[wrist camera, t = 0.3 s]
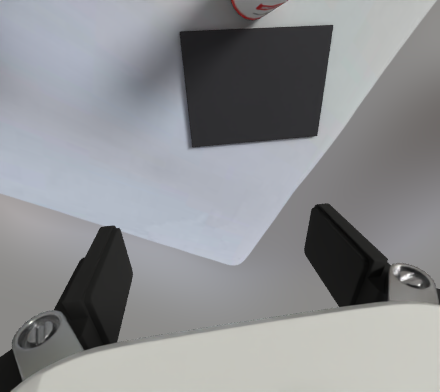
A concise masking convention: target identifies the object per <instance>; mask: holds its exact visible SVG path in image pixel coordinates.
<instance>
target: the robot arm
mask: <svg viewBox="0 0 440 392" xmlns="http://www.w3.org/2000/svg"><path fill="white" fill-rule="evenodd" d="M304 251H305V255H306V257H307V258H308V260H309V261H310V263H311V264H312V266H313V267H314V269H315V270H316V272H317V273H318V275H319V277H320V278H321V280H322V281H323V283H324V284H325V286H326V287H327V289H328V290H329V292H330V293H331V295H332V297H333V298H334V300H335V301H336V302H337V304H338V306H339V307H337V308H331V309H324V310H317V311H310V312H303V313H296V314H290V315H283V316H277V317H270V318H263V319H257V320H251V321H244V322H237V323H231V324H225V325H218V326H212V327H206V328H200V329H193V330H188V331H180V332H174V333H168V334H162V335H156V336H150V337H144V338H139V339H133V340H127V341H122V342H117V340H118V336H119V331H120V328H121V324H122V319H123V315H124V311H125V306H126V302H127V298H128V294H129V290H130V286H131V282H132V277H133V272H132V267H131V264H130V261H129V257H128V254H127V250H126V247H125V244H124V240H123V237H122V233H121V230H120V228H116V227H115V226H105V227H101V228H100V229H99V231H98V233H97V235H96V237H95V239H94V241H93V243H92V245H91V247H90V249H89V251H88V253H87V255H86V257H85V258H83V259H81V260H80V262H79V263H78V265H77V267H76V269H75V271H74V273H73V275H72V277H71V278H70V280H69V282H68V284H67V286H66V288H65V290H64V292H63V294H62V295H61V297H60V299H59V301H58V303H57V305H56V307H55V309H54V310H52V311H46V312H43V313H40V314H38V315H37V316H34V317H33V318H31V319H30V320H29V321H27V322H26V323H25V324H24V325H23V326H22V327H21V328H19V330H18V331H17V333H16V334H15V336H14V338H13V341H12V349H11V350H10V351H8V352H7V353H5V354H4V355H3V356H1V357H0V392H440V289H437V288H436V285H435V283H434V280H433V279H432V278H431V277H430V276H429V275H428V274H427V273H426V272H424V271H423V270H421V269H419V268H417V267H415V266H412V265H409V264H404V263H396V264H392V265H390V264H389V263H387V260H388V259H387V258H386V257H385V256H384V255H383V254H382V253H381V252H380V251H379V250H378V249H377V248H376V247H375V246H373V245H372V244H371V243H370V242H369V241H368V240H367V239H366V238H365V237H364V236H362V234H361V233H359V232H358V231H357V230H356V229H355V228H354V227H353V226H352V225H351V224H350V223H349V222H348V221H347V220H346V219H345V218H343V217H342V216H341V215H340V214H339V213H338V212H337V211H336V210H335V209H334V208H333V207H332V206H331V205H330V204H317V205H315V207H314V208H312V210H311V215H310V221H309V226H308V232H307V237H306V242H305V248H304Z"/></svg>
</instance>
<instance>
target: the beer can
mask: <svg viewBox="0 0 440 392" xmlns="http://www.w3.org/2000/svg"><path fill="white" fill-rule="evenodd" d="M286 1H288V0H231V2H232V4H233V7H234V9H235V10H236V11H237V13H238V14H239V15H240V16H242V17H243V18H245V19H249V20H256V19H260V18H261V17H263V16H265V15H266V14H268V13H269V12H271V11H273V10H274V9H276V8H277V7H279V6H280V5H282V4H283V3H285V2H286Z"/></svg>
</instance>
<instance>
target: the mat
mask: <svg viewBox="0 0 440 392" xmlns="http://www.w3.org/2000/svg"><path fill="white" fill-rule="evenodd" d="M332 31H333V25H322V26H299V27H276V28H253V29H231V30H208V31H185V32H180V39H181V48H182V57H183V66H184V75H185V84H186V93H187V102H188V111H189V120H190V129H191V139H192V147H200V146H211V145H222V144H233V143H244V142H255V141H266V140H277V139H288V138H299V137H310V136H317V133H318V127H319V120H320V113H321V106H322V99H323V92H324V86H325V79H326V72H327V65H328V58H329V51H330V44H331V38H332Z"/></svg>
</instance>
